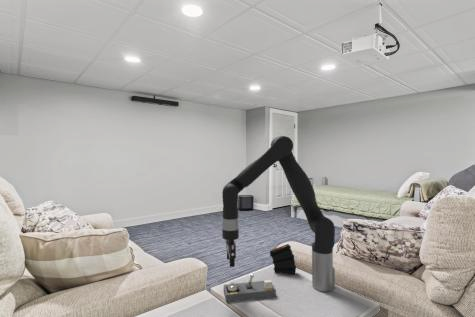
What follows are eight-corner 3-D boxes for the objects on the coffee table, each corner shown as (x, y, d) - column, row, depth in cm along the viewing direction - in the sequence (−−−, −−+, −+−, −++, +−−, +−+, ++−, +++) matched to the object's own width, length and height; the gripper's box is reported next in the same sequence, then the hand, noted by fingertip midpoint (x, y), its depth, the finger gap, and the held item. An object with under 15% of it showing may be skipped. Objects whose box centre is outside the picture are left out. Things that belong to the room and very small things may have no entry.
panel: (269, 286, 125) (269, 278, 124) (275, 296, 116) (275, 288, 116) (223, 291, 121) (223, 283, 121) (226, 302, 112) (226, 293, 112)
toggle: (250, 283, 119) (253, 274, 119) (251, 285, 117) (254, 275, 118) (247, 282, 119) (250, 273, 119) (248, 284, 117) (251, 274, 117)
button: (236, 288, 119) (236, 282, 119) (238, 293, 115) (238, 287, 115) (227, 289, 119) (227, 283, 119) (228, 294, 114) (228, 288, 114)
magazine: (301, 273, 134) (288, 245, 136) (278, 281, 138) (265, 254, 139) (302, 270, 138) (289, 243, 139) (279, 277, 141) (267, 251, 143)
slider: (270, 285, 118) (270, 279, 118) (272, 288, 116) (272, 281, 116) (263, 286, 118) (263, 280, 118) (265, 288, 116) (265, 282, 116)
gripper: (241, 231, 114) (241, 268, 114) (235, 223, 128) (236, 256, 128) (224, 232, 113) (224, 270, 113) (220, 223, 127) (220, 257, 127)
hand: (230, 262), depth 121 cm, fingers open, 8 cm apart
